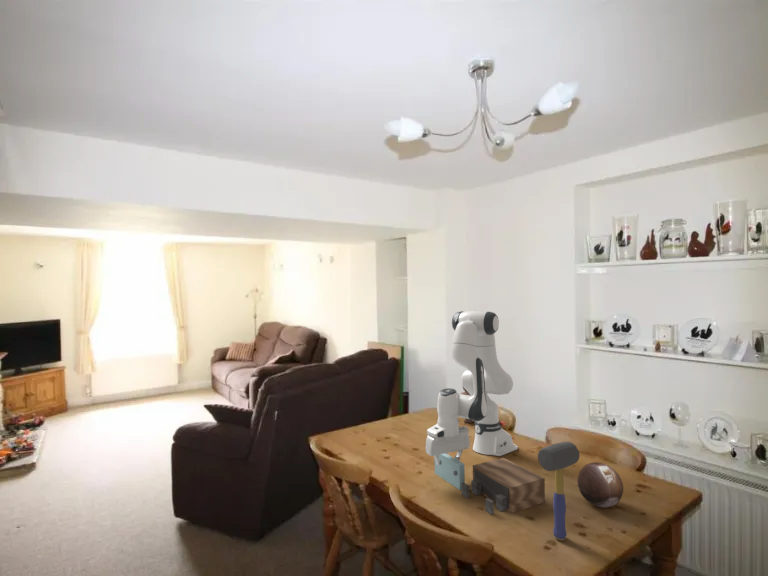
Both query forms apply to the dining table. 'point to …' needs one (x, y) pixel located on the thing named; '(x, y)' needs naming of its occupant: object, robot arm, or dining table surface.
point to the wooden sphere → (600, 484)
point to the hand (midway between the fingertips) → (448, 462)
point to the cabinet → (506, 486)
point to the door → (450, 470)
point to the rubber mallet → (558, 479)
